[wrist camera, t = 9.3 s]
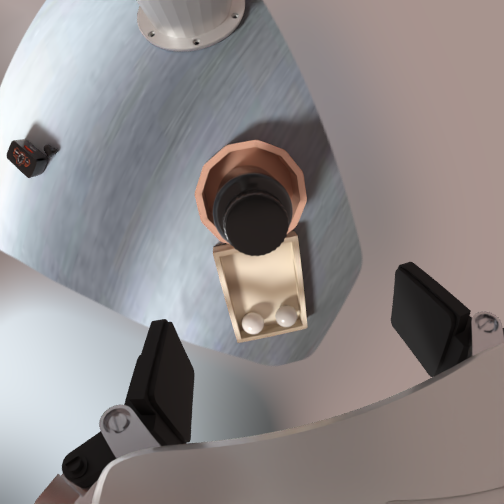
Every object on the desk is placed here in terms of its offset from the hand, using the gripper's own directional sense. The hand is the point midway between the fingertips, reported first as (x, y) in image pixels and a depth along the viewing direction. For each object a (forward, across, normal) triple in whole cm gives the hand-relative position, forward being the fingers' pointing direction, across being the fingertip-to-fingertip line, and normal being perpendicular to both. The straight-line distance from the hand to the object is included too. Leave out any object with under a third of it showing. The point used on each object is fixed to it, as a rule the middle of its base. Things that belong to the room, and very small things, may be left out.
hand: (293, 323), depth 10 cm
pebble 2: (+23, -2, +16) cm, 28 cm away
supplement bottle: (+22, 0, -1) cm, 23 cm away
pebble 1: (+23, +2, +16) cm, 28 cm away
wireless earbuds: (+24, +26, -14) cm, 37 cm away
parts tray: (+23, 0, +12) cm, 26 cm away
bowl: (+23, 0, -1) cm, 23 cm away
